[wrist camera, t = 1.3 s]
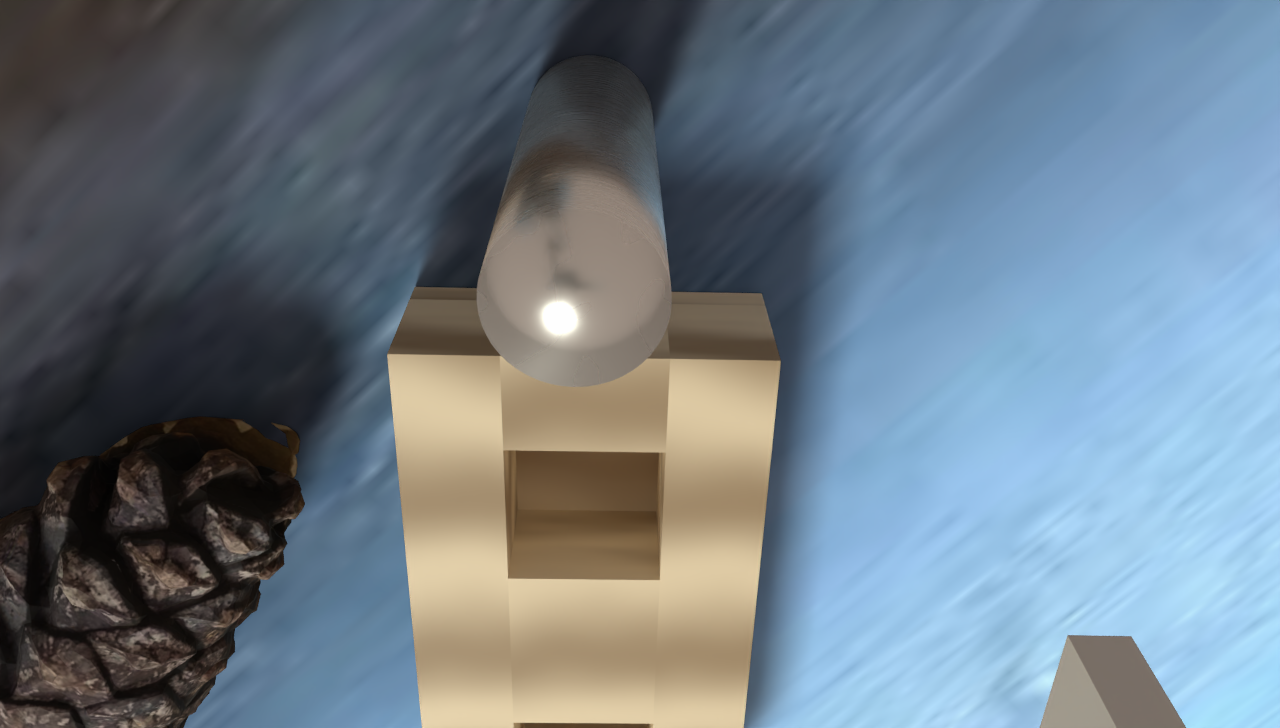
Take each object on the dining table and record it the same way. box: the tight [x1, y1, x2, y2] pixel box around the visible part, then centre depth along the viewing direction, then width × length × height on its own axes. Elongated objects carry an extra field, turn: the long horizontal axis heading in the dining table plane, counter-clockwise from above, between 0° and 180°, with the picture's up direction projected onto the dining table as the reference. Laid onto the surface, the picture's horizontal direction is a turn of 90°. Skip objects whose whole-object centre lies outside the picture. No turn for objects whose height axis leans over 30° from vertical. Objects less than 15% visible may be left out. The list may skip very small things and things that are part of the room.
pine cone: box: [0, 417, 305, 728], centre depth 38 cm, size 10×18×10 cm, turn 145°
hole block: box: [387, 287, 781, 728], centre depth 41 cm, size 24×12×5 cm, turn 178°
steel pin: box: [477, 55, 672, 387], centre depth 28 cm, size 4×4×14 cm
